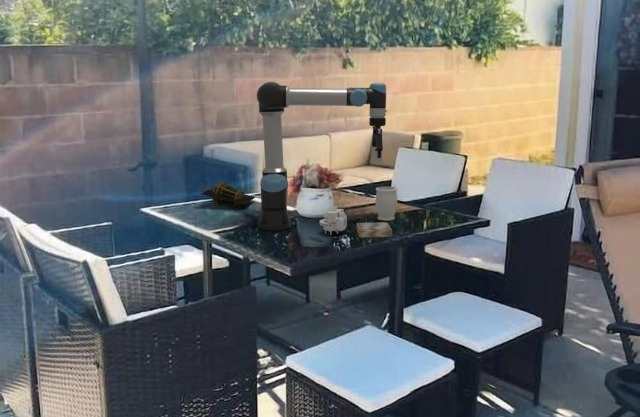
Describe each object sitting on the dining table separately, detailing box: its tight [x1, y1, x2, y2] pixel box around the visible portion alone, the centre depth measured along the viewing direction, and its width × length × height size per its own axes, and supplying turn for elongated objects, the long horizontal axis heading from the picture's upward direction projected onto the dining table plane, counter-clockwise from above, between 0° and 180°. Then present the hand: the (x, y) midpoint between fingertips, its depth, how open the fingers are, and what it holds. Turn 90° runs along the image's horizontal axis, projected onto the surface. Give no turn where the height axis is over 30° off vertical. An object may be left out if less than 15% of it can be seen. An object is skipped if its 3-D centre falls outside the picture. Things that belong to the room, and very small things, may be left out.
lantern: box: [198, 180, 257, 208], centre depth 354 cm, size 14×23×30 cm
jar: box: [374, 186, 398, 222], centre depth 320 cm, size 11×10×15 cm
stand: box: [356, 221, 393, 238], centre depth 295 cm, size 14×14×3 cm
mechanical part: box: [319, 205, 348, 236], centre depth 294 cm, size 11×12×12 cm
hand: (376, 162), depth 315 cm, fingers open, 13 cm apart
